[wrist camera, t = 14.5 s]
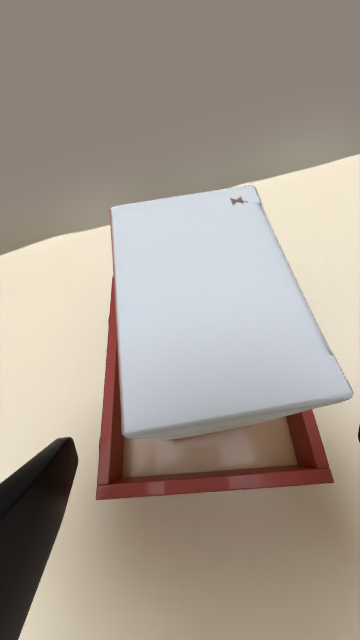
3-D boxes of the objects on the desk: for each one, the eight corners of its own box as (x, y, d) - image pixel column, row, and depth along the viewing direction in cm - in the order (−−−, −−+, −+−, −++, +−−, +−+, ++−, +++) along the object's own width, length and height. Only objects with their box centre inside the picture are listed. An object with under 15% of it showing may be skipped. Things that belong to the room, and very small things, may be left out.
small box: (151, 325, 18) (105, 200, 9) (224, 312, 18) (255, 177, 9) (165, 443, 15) (113, 442, 5) (256, 426, 15) (364, 397, 5)
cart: (310, 471, 15) (352, 481, 11) (108, 486, 15) (78, 501, 11) (253, 256, 23) (265, 217, 19) (121, 268, 23) (105, 232, 19)
